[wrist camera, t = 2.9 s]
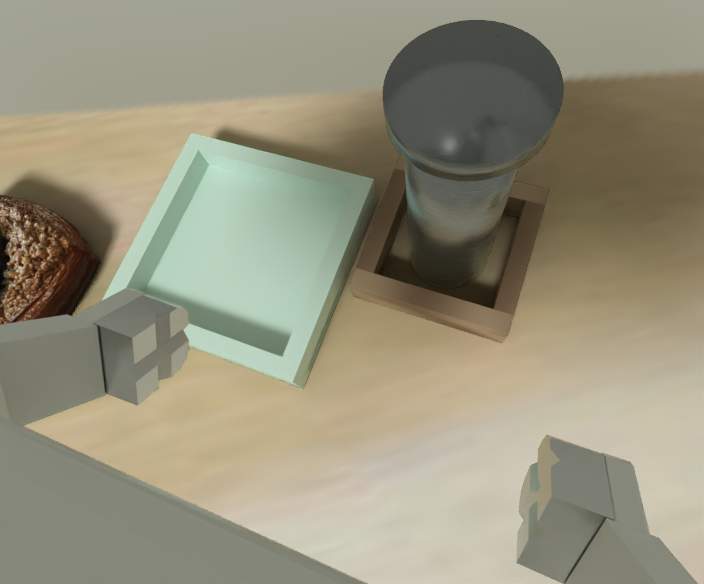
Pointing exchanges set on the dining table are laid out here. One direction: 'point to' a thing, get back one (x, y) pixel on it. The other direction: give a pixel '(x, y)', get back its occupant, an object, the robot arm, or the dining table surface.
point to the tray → (251, 252)
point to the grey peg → (466, 136)
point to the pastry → (40, 262)
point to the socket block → (437, 306)
